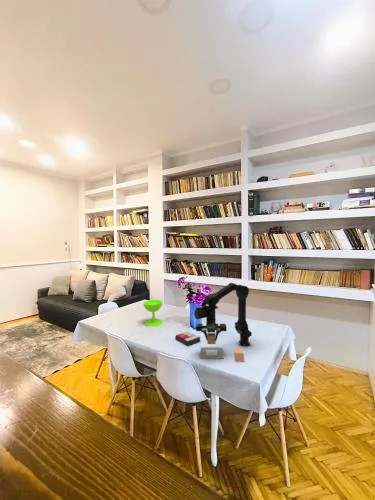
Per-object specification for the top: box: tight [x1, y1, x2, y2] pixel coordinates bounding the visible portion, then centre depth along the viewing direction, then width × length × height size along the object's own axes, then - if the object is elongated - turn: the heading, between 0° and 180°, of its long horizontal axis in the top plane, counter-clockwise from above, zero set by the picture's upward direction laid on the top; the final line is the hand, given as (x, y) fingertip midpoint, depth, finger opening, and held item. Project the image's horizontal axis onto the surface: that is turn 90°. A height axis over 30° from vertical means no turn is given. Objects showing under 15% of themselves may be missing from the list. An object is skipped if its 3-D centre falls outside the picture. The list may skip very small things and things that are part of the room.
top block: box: [233, 348, 245, 362], centre depth 147 cm, size 5×5×5 cm
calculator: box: [174, 331, 201, 347], centre depth 175 cm, size 11×4×15 cm
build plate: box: [199, 346, 224, 360], centre depth 155 cm, size 14×14×1 cm
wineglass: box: [143, 299, 164, 327], centre depth 211 cm, size 16×16×18 cm
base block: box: [206, 332, 217, 345], centre depth 155 cm, size 5×5×5 cm
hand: (211, 340), depth 155 cm, fingers closed on base block, 5 cm apart
